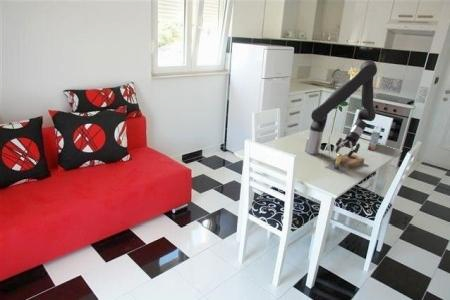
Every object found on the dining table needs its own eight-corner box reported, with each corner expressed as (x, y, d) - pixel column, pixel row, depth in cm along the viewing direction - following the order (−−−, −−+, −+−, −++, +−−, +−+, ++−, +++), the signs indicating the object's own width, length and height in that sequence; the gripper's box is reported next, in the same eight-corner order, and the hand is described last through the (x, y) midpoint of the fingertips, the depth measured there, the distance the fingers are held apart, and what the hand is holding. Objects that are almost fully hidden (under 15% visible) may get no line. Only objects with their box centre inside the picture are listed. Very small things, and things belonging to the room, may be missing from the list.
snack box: (374, 151, 244) (379, 132, 238) (367, 149, 246) (371, 131, 240) (377, 143, 261) (382, 126, 255) (370, 142, 263) (374, 124, 258)
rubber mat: (324, 167, 207) (324, 167, 207) (332, 164, 214) (332, 163, 213) (340, 174, 199) (341, 173, 199) (348, 170, 205) (348, 170, 205)
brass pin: (333, 168, 206) (336, 154, 202) (335, 167, 208) (338, 153, 204) (337, 169, 204) (340, 155, 200) (339, 168, 206) (343, 154, 202)
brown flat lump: (334, 163, 215) (335, 158, 214) (347, 157, 227) (348, 153, 226) (350, 169, 207) (352, 164, 206) (363, 163, 219) (364, 158, 218)
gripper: (343, 128, 210) (331, 147, 207) (364, 134, 201) (351, 154, 197) (345, 134, 216) (333, 153, 212) (366, 140, 206) (353, 160, 203)
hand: (342, 154), depth 205 cm, fingers open, 8 cm apart
